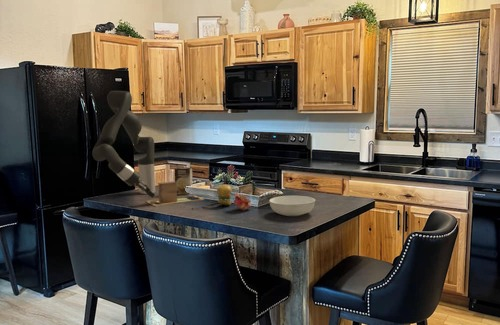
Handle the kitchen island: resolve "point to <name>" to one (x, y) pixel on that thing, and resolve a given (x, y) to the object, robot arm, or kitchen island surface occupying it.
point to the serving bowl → (292, 205)
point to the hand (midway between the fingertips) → (153, 196)
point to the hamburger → (224, 194)
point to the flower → (241, 202)
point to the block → (167, 192)
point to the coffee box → (183, 178)
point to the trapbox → (179, 200)
